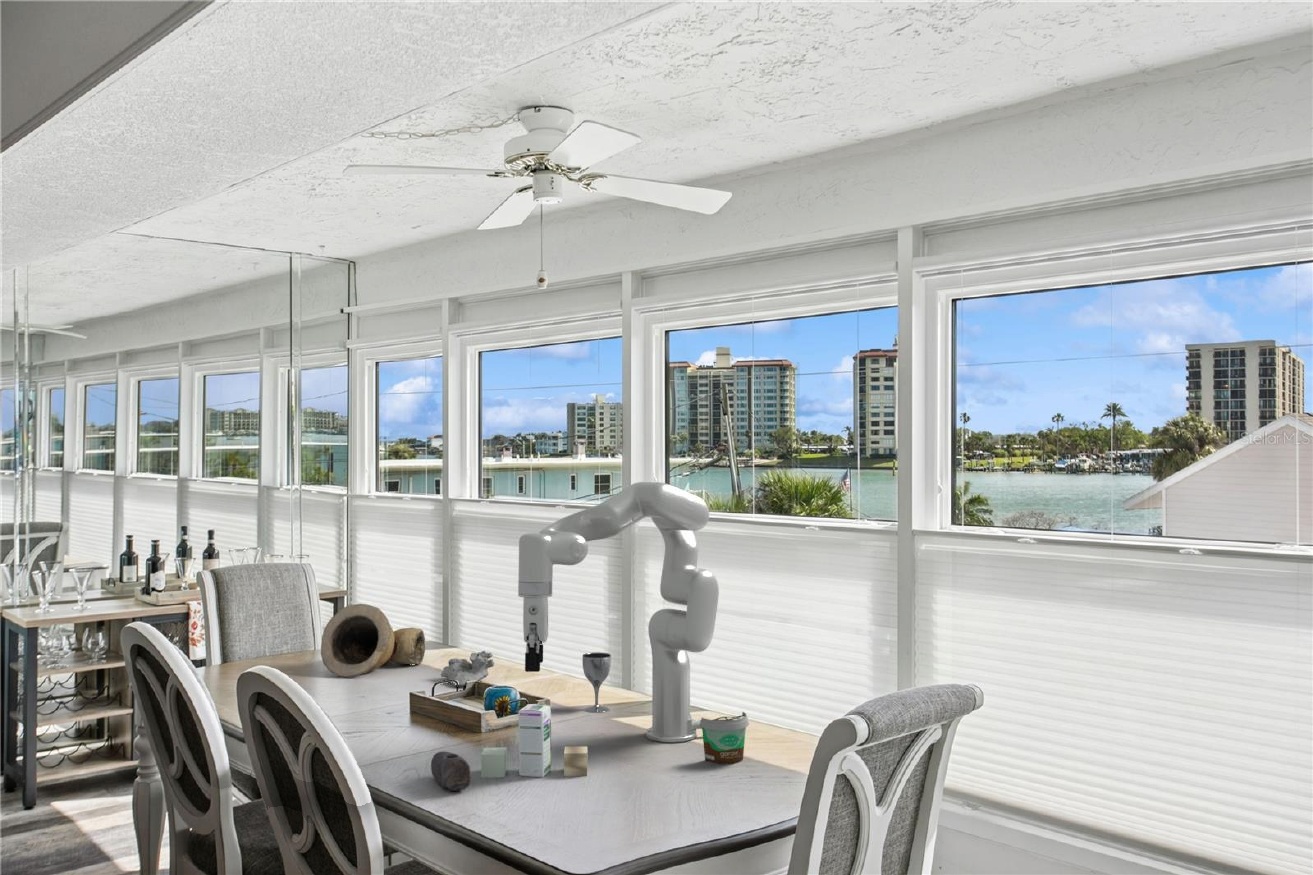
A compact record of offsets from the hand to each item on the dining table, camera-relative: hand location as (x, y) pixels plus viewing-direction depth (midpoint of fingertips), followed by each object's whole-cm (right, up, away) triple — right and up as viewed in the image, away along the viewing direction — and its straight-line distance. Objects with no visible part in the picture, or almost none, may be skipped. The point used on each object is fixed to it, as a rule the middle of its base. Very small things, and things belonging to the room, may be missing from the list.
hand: (534, 666), depth 214 cm
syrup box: (0, -24, 0) cm, 24 cm away
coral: (-32, -26, +87) cm, 96 cm away
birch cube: (+9, -24, 0) cm, 25 cm away
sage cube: (-9, -24, -1) cm, 25 cm away
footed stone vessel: (-67, -27, +108) cm, 129 cm away
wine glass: (+11, -25, +54) cm, 61 cm away
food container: (+44, -24, +8) cm, 51 cm away
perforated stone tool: (-17, -23, -8) cm, 30 cm away
